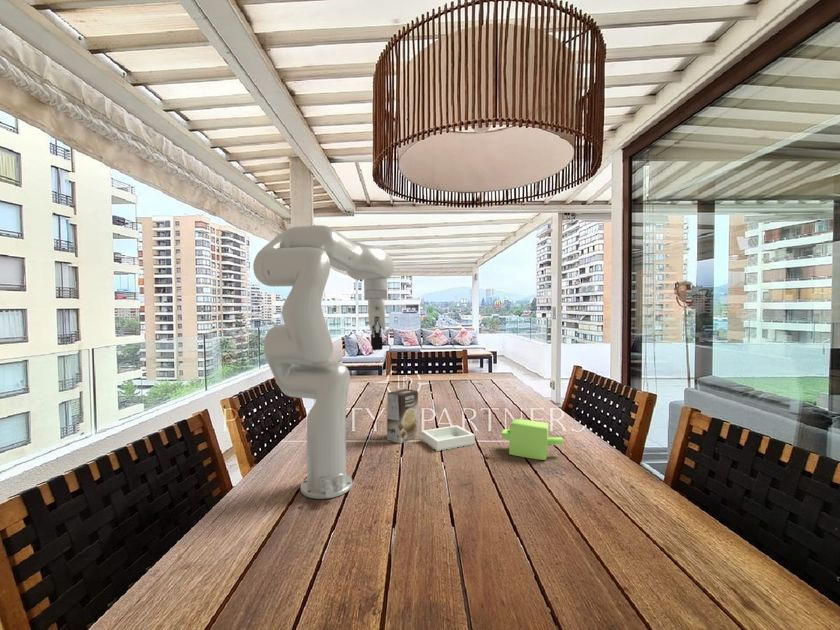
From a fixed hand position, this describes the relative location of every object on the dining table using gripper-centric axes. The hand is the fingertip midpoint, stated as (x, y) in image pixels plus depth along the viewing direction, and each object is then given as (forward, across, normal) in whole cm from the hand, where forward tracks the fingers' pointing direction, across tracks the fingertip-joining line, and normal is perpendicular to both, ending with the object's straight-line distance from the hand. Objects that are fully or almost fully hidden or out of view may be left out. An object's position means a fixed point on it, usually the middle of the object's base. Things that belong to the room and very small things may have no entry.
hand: (376, 347), depth 127 cm
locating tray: (+32, -5, -23) cm, 39 cm away
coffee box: (+32, +1, -8) cm, 33 cm away
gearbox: (+32, -18, -46) cm, 59 cm away
